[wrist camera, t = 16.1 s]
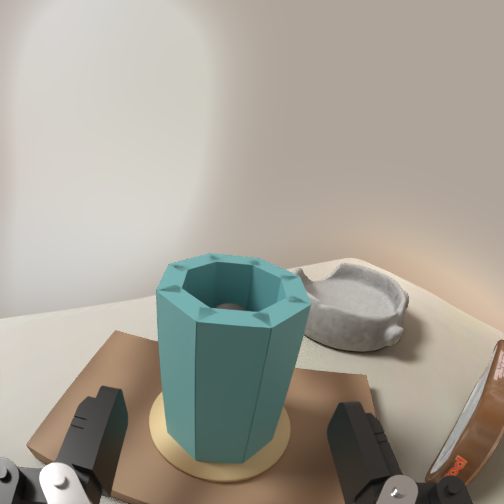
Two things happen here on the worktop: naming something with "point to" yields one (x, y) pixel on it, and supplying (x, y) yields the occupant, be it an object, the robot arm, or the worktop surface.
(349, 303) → the dish
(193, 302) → the collar
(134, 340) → the post stand
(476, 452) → the tin
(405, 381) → the worktop surface
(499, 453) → the worktop surface
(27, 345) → the worktop surface
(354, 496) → the robot arm
